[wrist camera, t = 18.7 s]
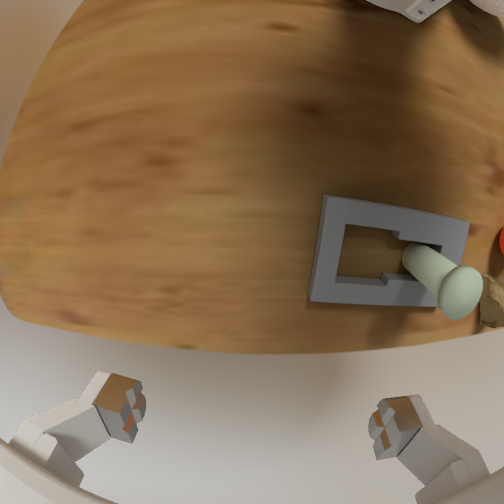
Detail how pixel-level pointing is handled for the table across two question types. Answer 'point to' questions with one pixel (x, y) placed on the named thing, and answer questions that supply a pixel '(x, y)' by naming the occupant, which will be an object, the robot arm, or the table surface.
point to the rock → (492, 302)
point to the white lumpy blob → (491, 6)
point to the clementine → (502, 241)
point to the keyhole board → (391, 284)
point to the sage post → (444, 279)
